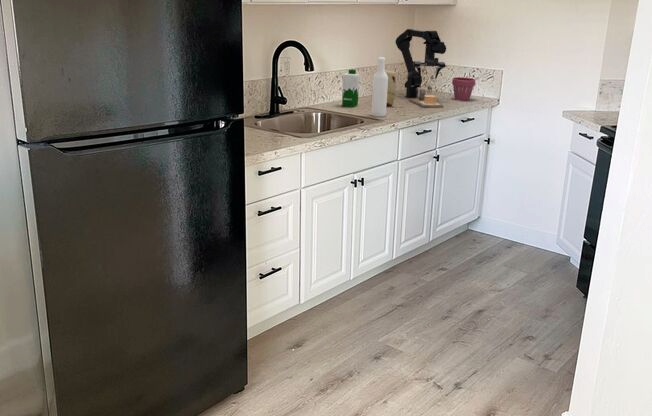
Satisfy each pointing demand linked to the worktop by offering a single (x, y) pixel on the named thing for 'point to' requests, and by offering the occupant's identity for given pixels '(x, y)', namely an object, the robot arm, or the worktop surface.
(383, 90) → the bottle
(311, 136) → the worktop surface
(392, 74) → the food model
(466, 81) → the plant pot
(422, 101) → the post board
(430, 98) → the orange tan square block
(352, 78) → the milk carton
